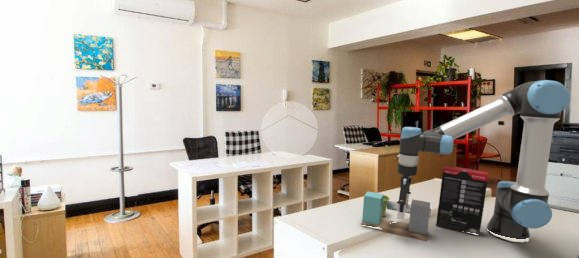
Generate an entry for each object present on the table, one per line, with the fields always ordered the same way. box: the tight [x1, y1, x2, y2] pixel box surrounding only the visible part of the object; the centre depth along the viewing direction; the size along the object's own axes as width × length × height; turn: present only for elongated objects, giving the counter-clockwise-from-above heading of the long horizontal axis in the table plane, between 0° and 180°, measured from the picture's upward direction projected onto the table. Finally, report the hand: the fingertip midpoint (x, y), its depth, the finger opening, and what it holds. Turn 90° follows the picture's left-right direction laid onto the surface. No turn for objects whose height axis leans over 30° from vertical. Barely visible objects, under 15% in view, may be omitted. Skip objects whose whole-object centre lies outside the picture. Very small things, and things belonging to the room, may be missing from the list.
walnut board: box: [360, 218, 428, 242], centre depth 136 cm, size 26×10×2 cm, turn 65°
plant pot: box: [382, 194, 390, 217], centre depth 151 cm, size 9×9×9 cm
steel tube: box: [386, 200, 432, 218], centre depth 133 cm, size 17×4×4 cm, turn 65°
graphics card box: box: [435, 164, 489, 235], centre depth 138 cm, size 17×7×27 cm, turn 59°
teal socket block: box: [361, 191, 384, 225], centre depth 139 cm, size 7×7×12 cm
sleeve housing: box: [408, 198, 431, 237], centre depth 131 cm, size 7×7×12 cm
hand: (402, 213), depth 134 cm, fingers open, 13 cm apart
